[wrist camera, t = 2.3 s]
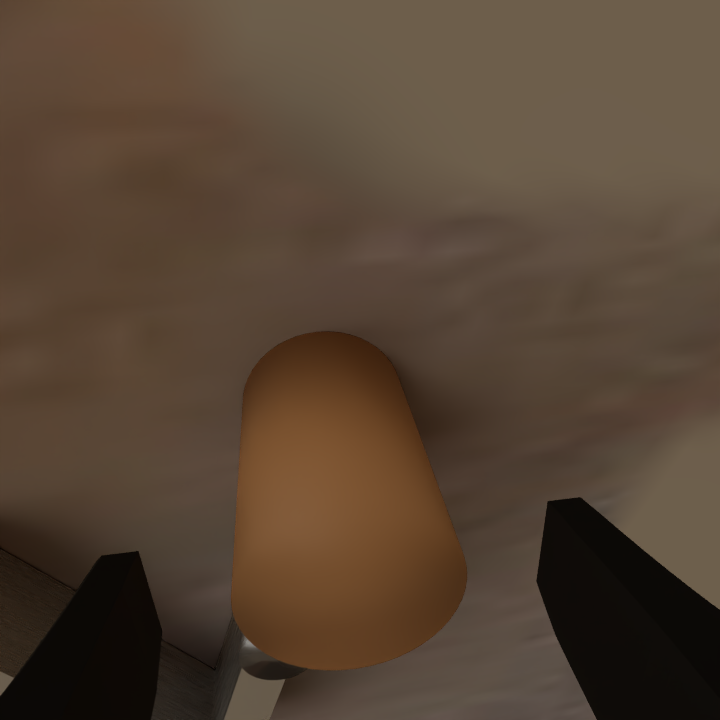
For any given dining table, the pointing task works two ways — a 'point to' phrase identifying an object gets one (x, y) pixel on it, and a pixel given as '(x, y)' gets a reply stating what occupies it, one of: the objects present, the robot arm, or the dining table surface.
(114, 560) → the robot arm
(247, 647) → the bent rail
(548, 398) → the dining table surface
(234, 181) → the dining table surface
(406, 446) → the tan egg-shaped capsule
